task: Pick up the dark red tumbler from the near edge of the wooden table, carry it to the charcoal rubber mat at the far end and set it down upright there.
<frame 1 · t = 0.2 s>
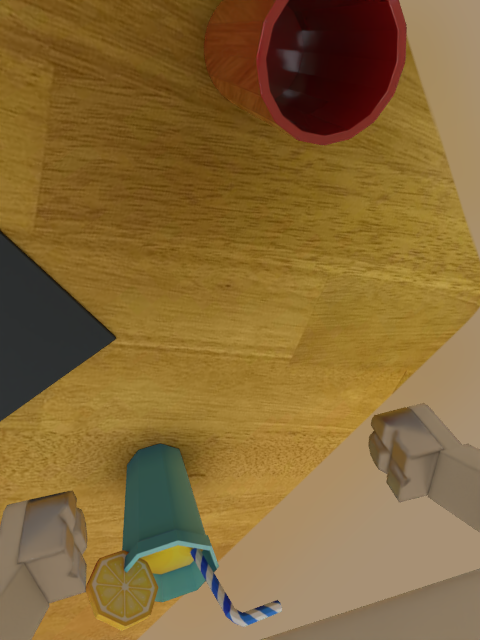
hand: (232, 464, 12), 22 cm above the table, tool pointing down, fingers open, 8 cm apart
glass: (255, 50, 27), on the table
cup: (165, 461, 43), on the table
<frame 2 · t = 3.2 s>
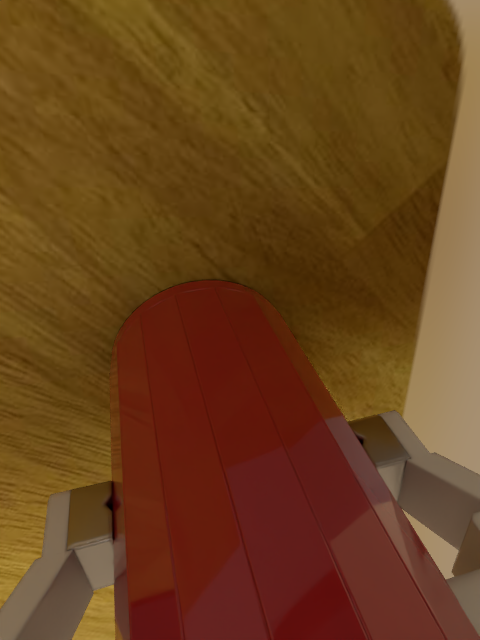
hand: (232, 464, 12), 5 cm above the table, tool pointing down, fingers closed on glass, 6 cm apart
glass: (202, 358, 16), on the table, touching gripper
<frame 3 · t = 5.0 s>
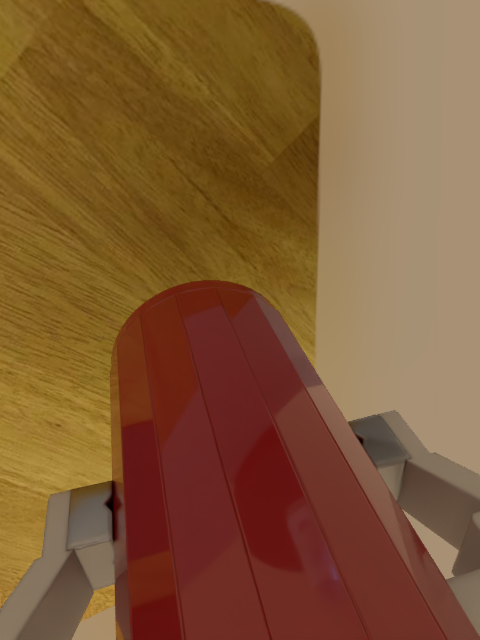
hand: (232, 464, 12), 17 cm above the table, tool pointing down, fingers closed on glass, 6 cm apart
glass: (202, 358, 16), point 12 cm above the table, touching gripper
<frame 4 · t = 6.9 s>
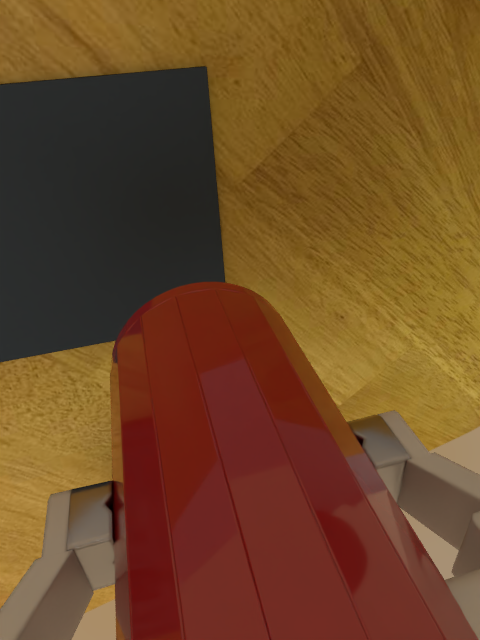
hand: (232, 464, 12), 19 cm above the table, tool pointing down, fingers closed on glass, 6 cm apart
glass: (202, 359, 16), point 15 cm above the table, touching gripper
corner mat: (87, 230, 27), on the table
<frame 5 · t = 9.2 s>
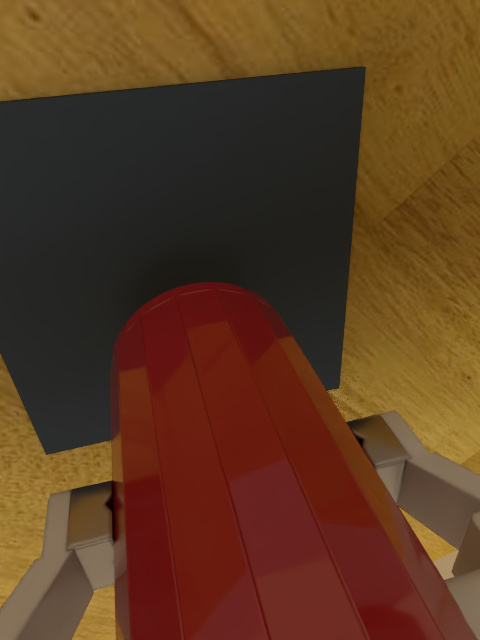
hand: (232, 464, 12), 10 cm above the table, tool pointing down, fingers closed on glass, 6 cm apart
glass: (202, 359, 16), point 5 cm above the table, touching gripper
corner mat: (180, 287, 20), on the table
when the fingers open (5 cm above the table, at t = 10.9 s): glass stays where it is, resting on corner mat.
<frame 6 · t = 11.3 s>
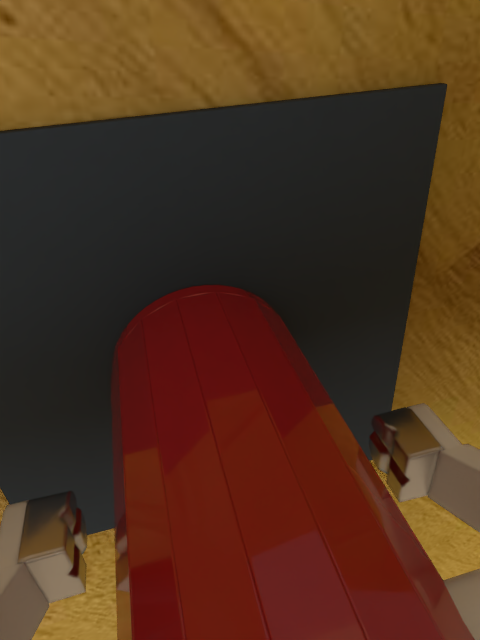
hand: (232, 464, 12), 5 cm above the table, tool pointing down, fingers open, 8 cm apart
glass: (203, 362, 16), resting on corner mat
corner mat: (200, 356, 16), on the table
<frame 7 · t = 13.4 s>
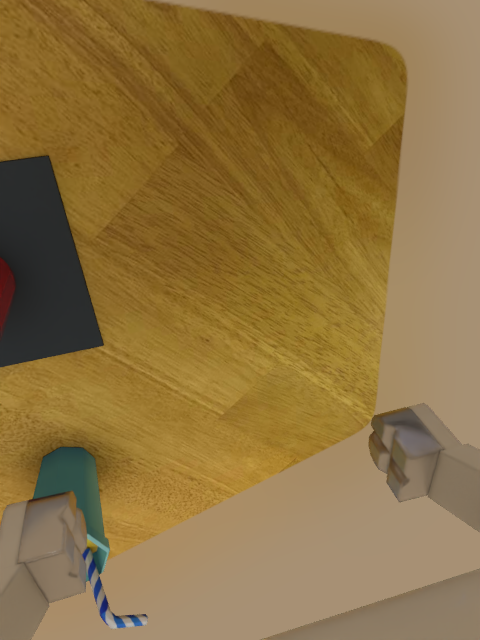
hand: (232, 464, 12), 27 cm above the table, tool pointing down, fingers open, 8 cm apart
cup: (76, 466, 46), on the table
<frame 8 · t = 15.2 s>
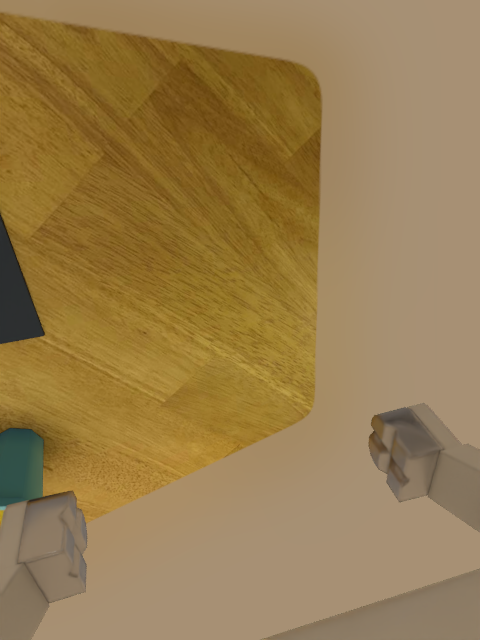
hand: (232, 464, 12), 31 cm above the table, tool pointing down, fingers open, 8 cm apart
cup: (26, 446, 50), on the table
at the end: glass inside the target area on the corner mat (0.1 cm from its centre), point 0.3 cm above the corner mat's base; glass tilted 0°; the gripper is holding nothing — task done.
